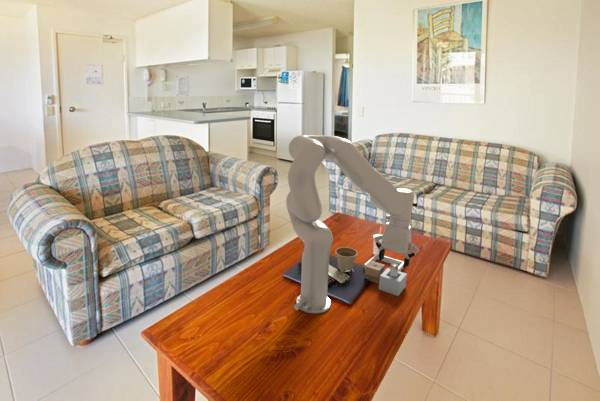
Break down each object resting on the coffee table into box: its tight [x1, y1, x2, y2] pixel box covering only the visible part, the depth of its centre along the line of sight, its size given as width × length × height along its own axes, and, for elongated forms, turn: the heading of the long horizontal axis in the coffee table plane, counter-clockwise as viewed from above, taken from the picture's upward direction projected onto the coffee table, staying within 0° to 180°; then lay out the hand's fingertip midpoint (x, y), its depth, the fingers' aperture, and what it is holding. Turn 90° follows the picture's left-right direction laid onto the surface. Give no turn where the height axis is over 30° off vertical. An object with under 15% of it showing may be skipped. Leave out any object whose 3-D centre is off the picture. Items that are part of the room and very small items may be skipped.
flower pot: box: [335, 246, 358, 271], centre depth 156 cm, size 9×9×9 cm
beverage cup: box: [372, 226, 383, 256], centre depth 172 cm, size 6×6×14 cm
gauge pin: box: [390, 264, 399, 279], centre depth 143 cm, size 3×3×10 cm
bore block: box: [378, 267, 408, 297], centre depth 144 cm, size 8×8×6 cm
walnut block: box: [364, 261, 386, 284], centre depth 151 cm, size 6×6×6 cm
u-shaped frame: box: [363, 254, 404, 272], centre depth 160 cm, size 13×14×2 cm
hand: (393, 263), depth 141 cm, fingers open, 9 cm apart
